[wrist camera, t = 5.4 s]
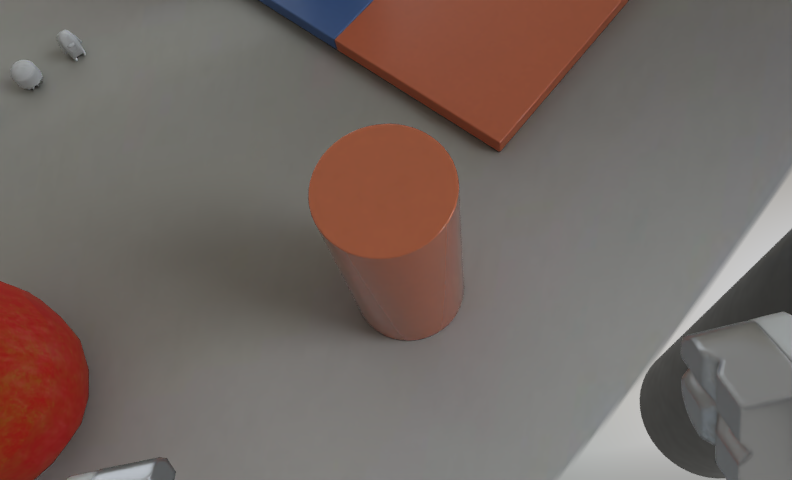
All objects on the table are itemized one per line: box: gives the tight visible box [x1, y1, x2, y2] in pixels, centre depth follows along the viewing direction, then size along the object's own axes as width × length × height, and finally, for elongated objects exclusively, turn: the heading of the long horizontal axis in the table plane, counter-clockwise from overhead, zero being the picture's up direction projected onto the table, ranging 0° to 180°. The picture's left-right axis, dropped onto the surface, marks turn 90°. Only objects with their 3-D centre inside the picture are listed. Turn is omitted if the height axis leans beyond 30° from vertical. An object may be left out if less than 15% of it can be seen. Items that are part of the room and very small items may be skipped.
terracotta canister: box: [308, 124, 464, 341], centre depth 30 cm, size 6×6×11 cm
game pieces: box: [10, 30, 86, 90], centre depth 42 cm, size 8×2×2 cm, turn 130°
